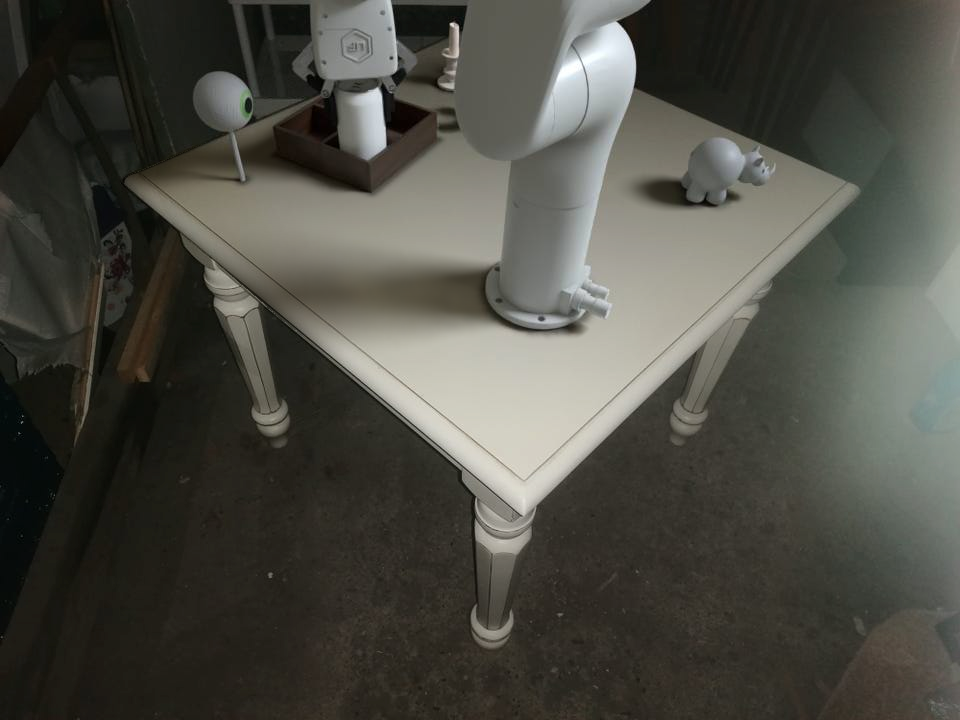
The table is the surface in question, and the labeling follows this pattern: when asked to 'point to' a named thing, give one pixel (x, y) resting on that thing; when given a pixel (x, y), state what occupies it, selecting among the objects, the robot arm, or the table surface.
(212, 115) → the lollipop
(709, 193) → the toy rhinoceros
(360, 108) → the can
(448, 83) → the candle
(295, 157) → the divided tray
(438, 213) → the table surface
